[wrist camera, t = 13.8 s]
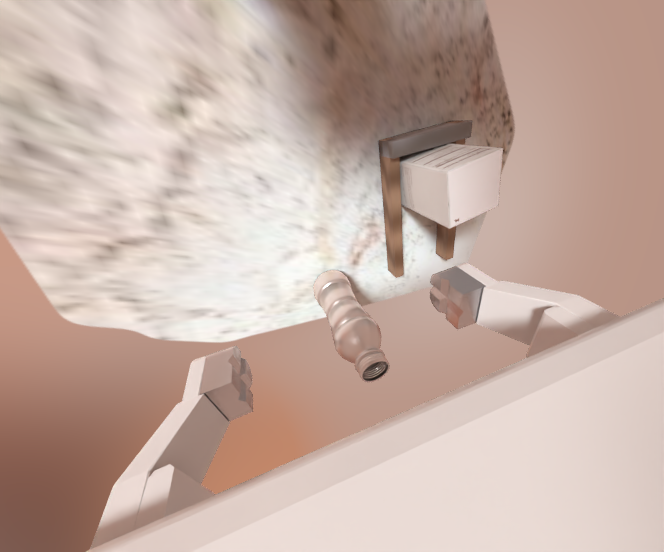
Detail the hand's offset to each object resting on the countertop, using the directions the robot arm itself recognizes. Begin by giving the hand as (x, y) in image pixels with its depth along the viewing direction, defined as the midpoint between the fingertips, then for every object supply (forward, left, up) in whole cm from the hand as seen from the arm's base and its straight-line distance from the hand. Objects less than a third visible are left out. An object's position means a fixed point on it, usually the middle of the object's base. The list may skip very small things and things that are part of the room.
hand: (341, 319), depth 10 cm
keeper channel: (+10, +22, -29) cm, 38 cm away
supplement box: (+4, +22, -29) cm, 37 cm away
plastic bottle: (+19, +4, -29) cm, 35 cm away
